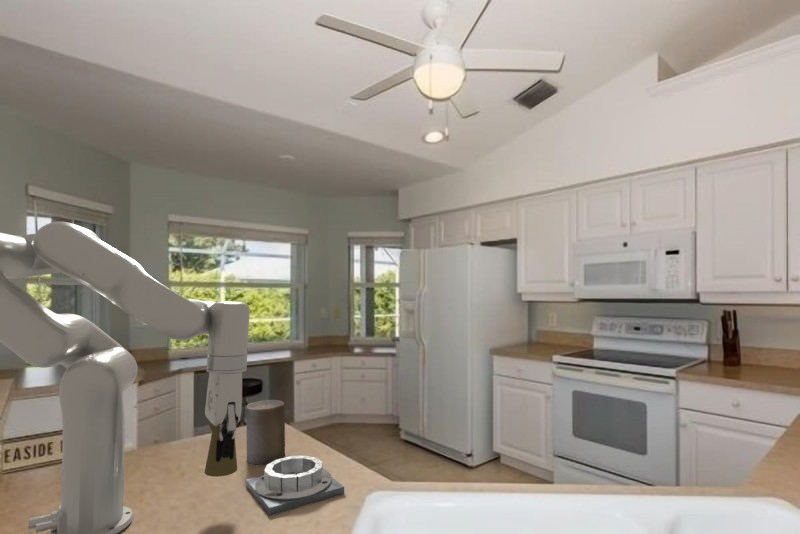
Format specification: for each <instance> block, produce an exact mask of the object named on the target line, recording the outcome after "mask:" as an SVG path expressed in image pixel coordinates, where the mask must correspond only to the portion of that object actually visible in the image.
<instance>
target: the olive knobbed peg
mask: <svg viewBox="0 0 800 534" xmlns="http://www.w3.org/2000/svg"><path fill="white" fill-rule="evenodd" d="M235 417H236V416H235ZM224 423H227V420H223V422H222V424H224ZM238 423H239V422H238ZM238 423H236V428H237V427H238ZM209 428H210V431H211V434H212V436H211V437H210V442H209V447H208V453H207V458H206V463H205V468H204V472H203V473H204V474H205V475H206V476H210V477H216V478H218V477H225V476H230V475H232V474H234V473H236V472H237V470H238V460H237V452H236V451H237V449H236V447H237V446H236V438H235V439H234V456H233V459H232V460H230V458H229V457H227V458H223V457H221V459H220V462H217V461H216V444H217V440H219V424H218V426H214V425H213V424H212V423H211V422H210V421H209ZM226 428H227V427H223V430H224V429H226Z"/></svg>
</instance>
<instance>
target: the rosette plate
mask: <svg viewBox="0 0 800 534" xmlns="http://www.w3.org/2000/svg"><path fill="white" fill-rule="evenodd" d="M263 473H264V474H262V475H259V476H255V477H249V478H247V479H245V487H246V488H247V490H249V492H250V494H251V495H252V496H253V497H254V498H255V499H256V502H258V504H259V505H260V506H261V507H262V508H263V510H264V511H265V512H266V514H267V515H268V517H271V516H274V515H277V514H281V513H285V512H288V511H291V510H292V511H293V510H295V509H298V508H301V507H304V506H308V505H311V504H314V503H319V502H322V501H325V500H329V499H333V498H335V497H338V496H341V495H345V485H343V484H341V483H340V482H339V481H338V480H336V479H335V478H333V477H332V474H331V473H330V472H329V471H328V470H327V469H324V467H323V461H322V460H321V459H319V458H318V457H315V456H309V455H292V456H287V457H286V456H285V457H284V458H281V459H278V460H275V461H273V462H271V463H268V464H266V466H265V468H264V472H263Z"/></svg>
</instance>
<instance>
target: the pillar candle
mask: <svg viewBox="0 0 800 534" xmlns="http://www.w3.org/2000/svg"><path fill="white" fill-rule="evenodd" d="M245 408H246V409H245V410H246V461H247V462H248V463H250V464H253V465H268V464H269V463H271V462H273V461H275V460H278V459H281V458H285V457H286V433H285V431H286V430H285V429H286V422H285V421H286V417H285V415H286V414H285V413H286V411H285V402H284V401H283V400H278V399H267V398H266V399H265V400H258V401H254V402H251V403H248V404H246V406H245Z"/></svg>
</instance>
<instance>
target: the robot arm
mask: <svg viewBox="0 0 800 534" xmlns="http://www.w3.org/2000/svg"><path fill="white" fill-rule="evenodd" d="M59 273H62V274H64V275H65V276H67V277H69V278H71V279H73V280H75V281H77V283H79V284H82V285H83V286H85V287H87V288H88V289H90V290H92V291H93V292H95V293H96V294H99V295H101V296H102V297H104V298H105V299H107V300H108V301H109V302H110V303H112V304H113V305H115V306H116V307H117V308H119V309H121V310H122V311H123V312H125V314H127V315H129V316H130V317H132V318H134V319H135V320H137V321H138V322H140V323H142V324H143V325H146V326H147V327H149V328H150V329H152V330H153V331H156V332H157V333H159V334H161V335H163V336H165V337H167V338H170V339H171V340H176V341H189V340H192V339H194V338H196V337H198V336H204V335H208V339H207V359H206V372H207V373H209V374H208V379H207V390H206V399H205V405H204V406H205V408H204V414H205V417H206V419H208V421H209V423H210V422H211V423H212V424H213V425H214V426H218V424H219V440H217V444H216V461H217V462H220V459H221V457H223V458H227V457H229V458H230V460H232V459H233V456H234V439H235V440H236V437H235V435H236V434H235V433H236V431H237V427H236V423H239V422H241V416H242V408H243V407H242V406H243V403H242V402H243V373H244V372H246V371H247V366H248V351H249V350H248V349H249V348H248V346H249V332H250V331H249V329H250V311H251V310H250V306H249V305H248V304H247V303H246V302H243V301H242V302H241V301H216V302H215V301H206V300H200V299H193V298H190V299H188V298H186V297H184V296H182V295H181V294H179V293H177V292H176V291H174V290H172V288H169V287H167V286H166V285H164V284H162V282H160V281H158V280H156V279H155V278H153V277H152V276H151V275H150V274H149V273H148V272H147V271H146V270H145V269H144V268H143V266H142V265H141V264H140V263H139V262H138V260H137V261H136V260H135V259H134V258H133V257H131V256H128V255H127V254H126V253H123V252H121V251H119V250H118V249H117V248H115V247H113V246H111V245H109V244H108V243H106V242H105V241H103V240H101V238H100V237H99V236H98V235H97V234H96V233H95V232H94V231H92V230H91V229H88V228H86V227H83V226H81V225H78V224H76V223H75V224H74V223H71V222H69V221H68V222H67V221H54V222H50V223H47V224H44V225H43V226H41V227H40V228H39V229H37V231H36V232H35V233H29V234H27V233H26V234H19V235H15V234H11V233H10V234H9V233H5V232H1V231H0V343H1V344H2V345H3V346H5V347H6V348H7V349H9V350H10V351H11V352H12V353H13V354H16V356H17V357H19V358H20V359H21V360H23V361H24V362H26V363H27V364H29V365H31V366H33V367H35V368H43V369H46V368H52V367H56V366H59V365H62V367H64V368H66V370H65V372H64V373H63V375H62V377H61V379H60V383H59V389H58V390H59V391H58V394H59V405H60V409H61V410H60V411H61V417H62V419H61V421H62V422H61V423H62V444H61V446H62V455H61V456H62V457H61V458H62V459H61V491H60V492H61V495H60V501H61V502H60V504H59V507H58V509H57V510H52V512H51V513H48V514H44V515H38V516H34V517H33V516H32V517H29V519H28V524H27V525H28V527H27V528H28V529H27V530H28V531H31V530H35V533H36V534H38V533H40V532H45V531H48V530H50V531H49V534H118V533H119V532H121V531H123V530H124V529H125V528H127V527H128V526H129V525H130V523H131V522H132V521H133V516H134V512H133V510H132V509H131V508H130V507H128V506H125V505H124V498H125V497H124V495H125V494H124V491H125V490H124V489H125V483H124V482H125V445H126V443H125V438H126V436H125V435H126V434H125V433H126V432H125V431H126V429H125V428H126V427H125V426H126V424H125V420H126V419H125V409H124V402H123V393H124V392H125V391H126V390H128V389H129V388H130V387H131V386H132V385H133V384H134V382H135V380H137V379H136V378H137V376H138V364H137V361H136V359H135V356H134V355H132V353H130V352H129V350H127V349H126V348H125V347H123V346H122V345H121V344H120V343H119V342H117V341H116V340H115V339H114V338H112V337H111V336H110V335H109V334H108V333H106V332H105V331H103V329H101V328H100V327H99V326H97V325H96V324H95V323H93V322H92V321H90V320H89V319H88V318H86V317H83V316H82V315H78V314H75V313H56V312H54V311H53V310H51V309H50V308H49V307H46V306H45V305H44V304H42V303H41V302H40V301H38V300H37V299H36V298H35V297H34V296H32V294H31V293H29V292H28V291H27V290H25V289H23V288H21V287H19V286H18V285H16V284H15V283H13V282H12V281H10V280H9V279H23V278H24V279H25V278H31V277H39V276H45V275H53V274H59ZM235 416H236V417H235ZM223 420H227V423H224V424H222V422H223ZM223 427H227V428H226V429H224V430H223ZM210 435H211V436H212V433H211V434H210Z"/></svg>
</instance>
